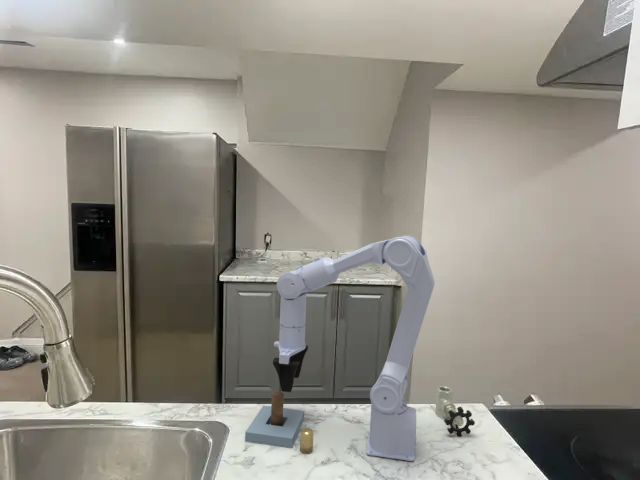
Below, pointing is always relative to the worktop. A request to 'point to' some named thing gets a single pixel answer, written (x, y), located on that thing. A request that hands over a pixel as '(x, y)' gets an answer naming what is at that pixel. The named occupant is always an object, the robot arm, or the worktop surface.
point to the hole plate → (275, 428)
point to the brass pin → (306, 441)
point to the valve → (451, 411)
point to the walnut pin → (277, 409)
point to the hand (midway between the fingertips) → (290, 383)
